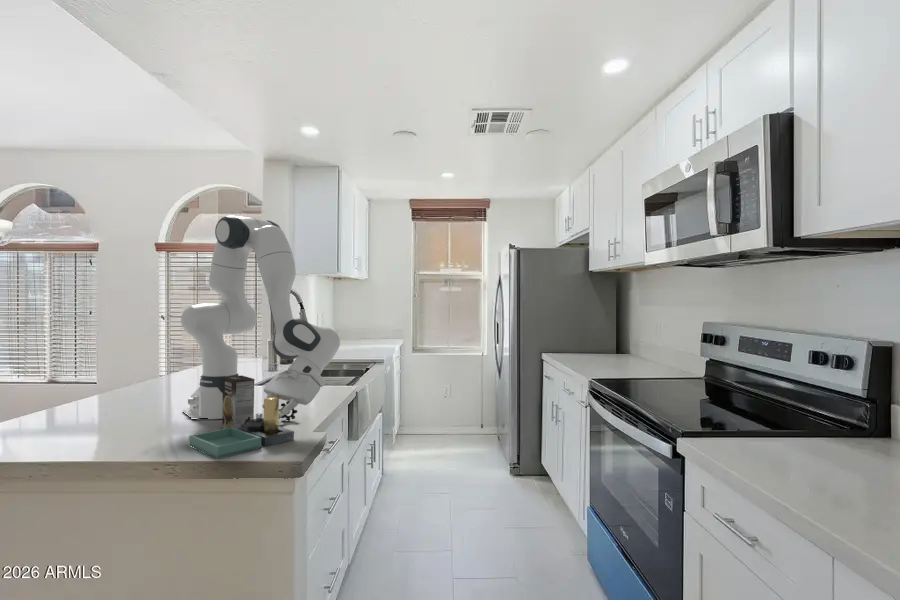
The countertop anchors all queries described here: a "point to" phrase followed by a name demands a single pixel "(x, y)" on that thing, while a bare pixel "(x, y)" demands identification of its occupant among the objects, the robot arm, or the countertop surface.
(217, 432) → the tray
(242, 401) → the coffee box
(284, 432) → the block
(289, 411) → the valve
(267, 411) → the pin
